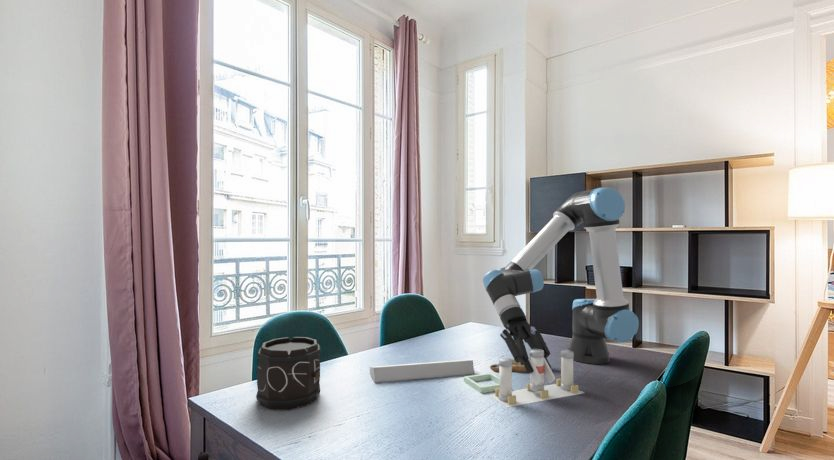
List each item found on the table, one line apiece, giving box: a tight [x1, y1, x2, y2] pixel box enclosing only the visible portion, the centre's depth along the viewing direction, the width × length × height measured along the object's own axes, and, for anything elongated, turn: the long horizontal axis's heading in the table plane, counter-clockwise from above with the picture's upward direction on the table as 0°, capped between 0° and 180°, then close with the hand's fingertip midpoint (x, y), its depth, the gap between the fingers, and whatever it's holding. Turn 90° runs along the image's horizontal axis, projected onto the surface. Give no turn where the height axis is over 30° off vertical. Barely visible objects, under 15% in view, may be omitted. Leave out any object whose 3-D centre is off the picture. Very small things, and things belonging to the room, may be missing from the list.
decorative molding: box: [369, 359, 475, 384], centre depth 138 cm, size 34×5×10 cm
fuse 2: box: [560, 349, 575, 391], centre depth 121 cm, size 4×4×11 cm
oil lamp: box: [489, 341, 547, 373], centre depth 139 cm, size 9×21×10 cm, turn 105°
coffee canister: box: [255, 336, 322, 411], centre depth 115 cm, size 18×18×16 cm
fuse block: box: [489, 377, 585, 408], centre depth 116 cm, size 27×9×4 cm, turn 113°
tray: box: [463, 372, 499, 394], centre depth 123 cm, size 10×10×3 cm
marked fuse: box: [529, 348, 545, 391], centre depth 116 cm, size 4×4×11 cm
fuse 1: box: [498, 357, 513, 402], centre depth 112 cm, size 4×4×11 cm
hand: (545, 381), depth 113 cm, fingers closed on marked fuse, 4 cm apart
